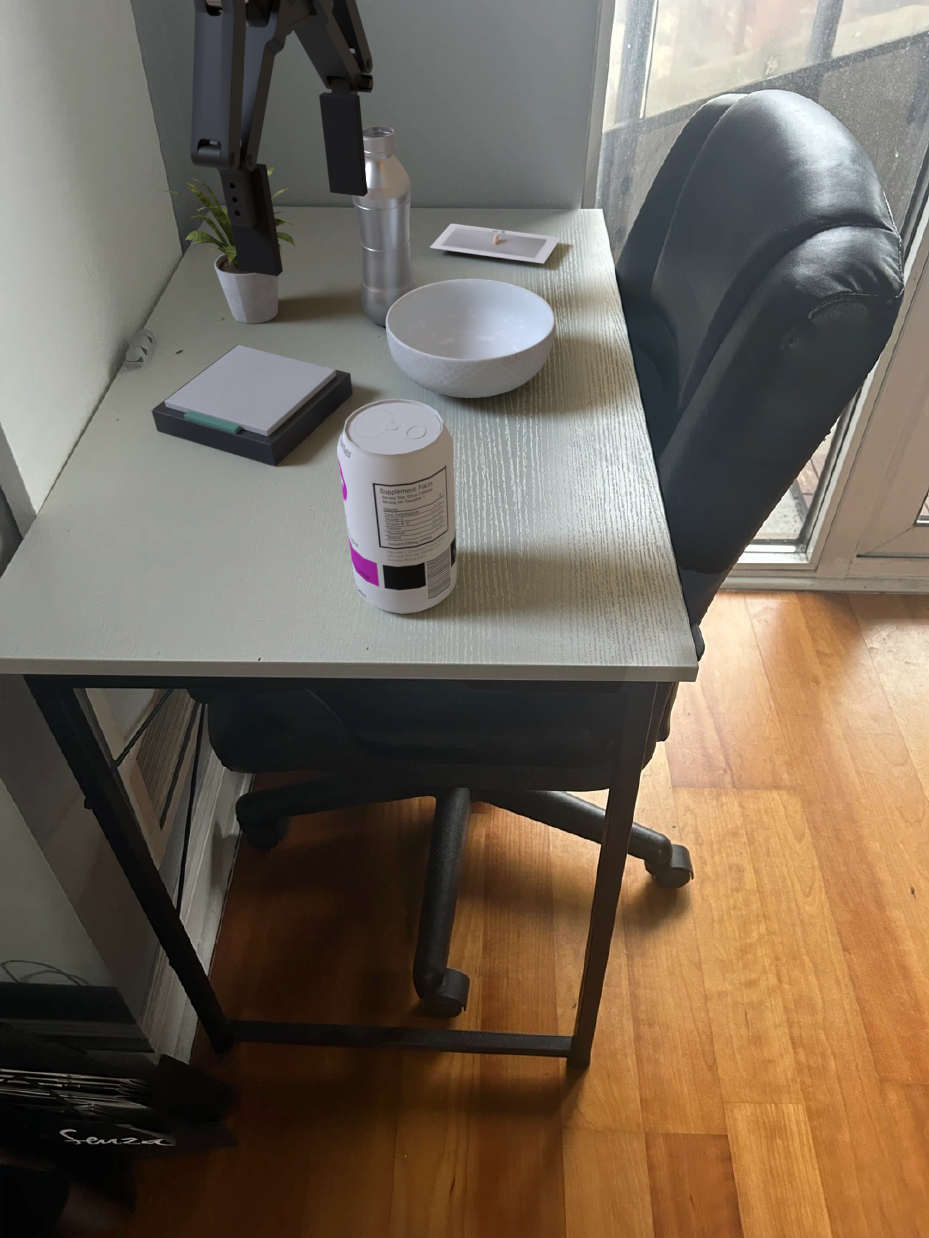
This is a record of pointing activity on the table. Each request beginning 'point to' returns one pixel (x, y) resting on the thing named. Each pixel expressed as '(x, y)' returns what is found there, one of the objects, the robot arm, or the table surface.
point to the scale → (253, 404)
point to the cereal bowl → (470, 336)
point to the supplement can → (399, 504)
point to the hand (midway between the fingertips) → (308, 230)
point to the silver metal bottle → (384, 226)
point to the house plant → (243, 290)
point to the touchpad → (496, 243)
